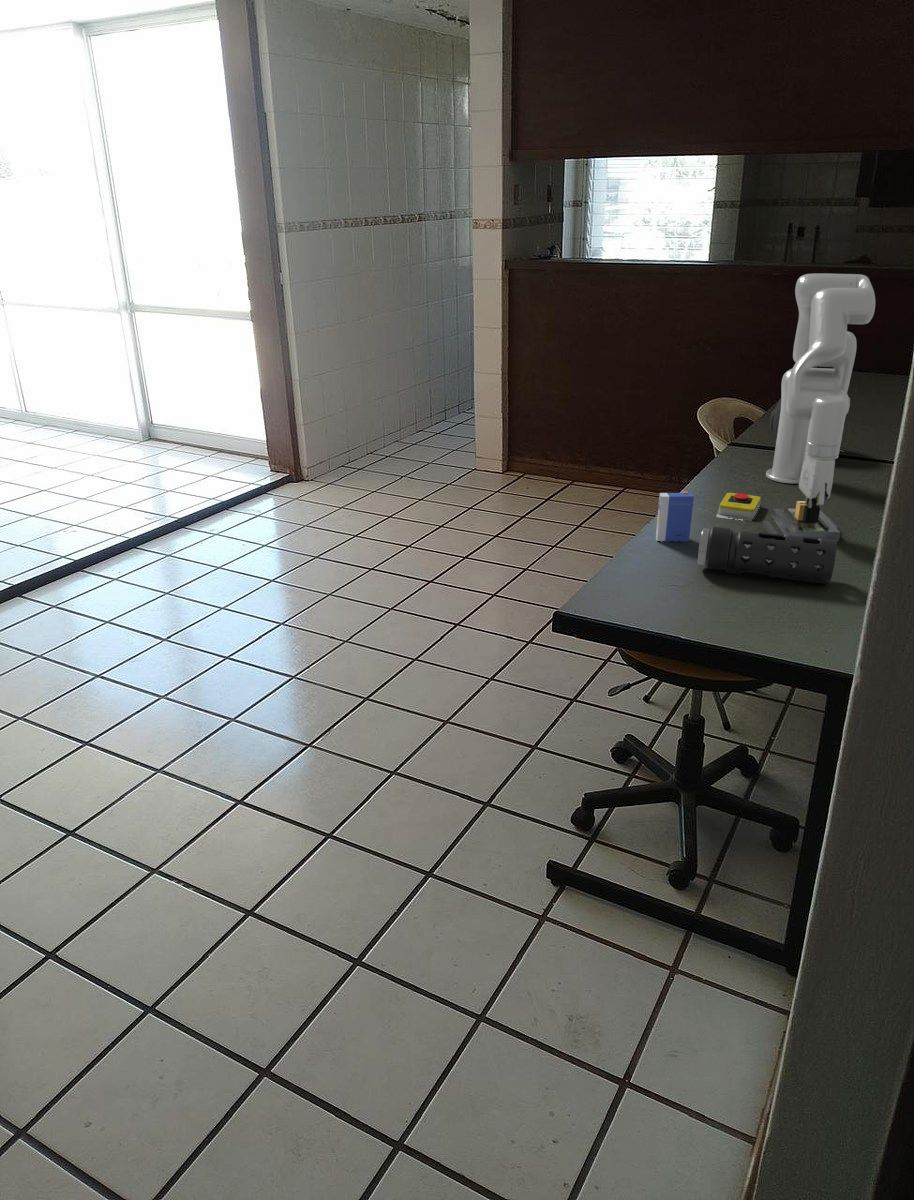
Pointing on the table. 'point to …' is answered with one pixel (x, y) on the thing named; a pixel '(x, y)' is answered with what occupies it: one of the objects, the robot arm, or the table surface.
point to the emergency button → (738, 506)
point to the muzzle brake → (767, 554)
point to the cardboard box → (800, 510)
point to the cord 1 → (769, 527)
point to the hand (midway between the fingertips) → (810, 521)
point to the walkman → (674, 517)
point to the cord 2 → (832, 522)
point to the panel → (805, 525)
